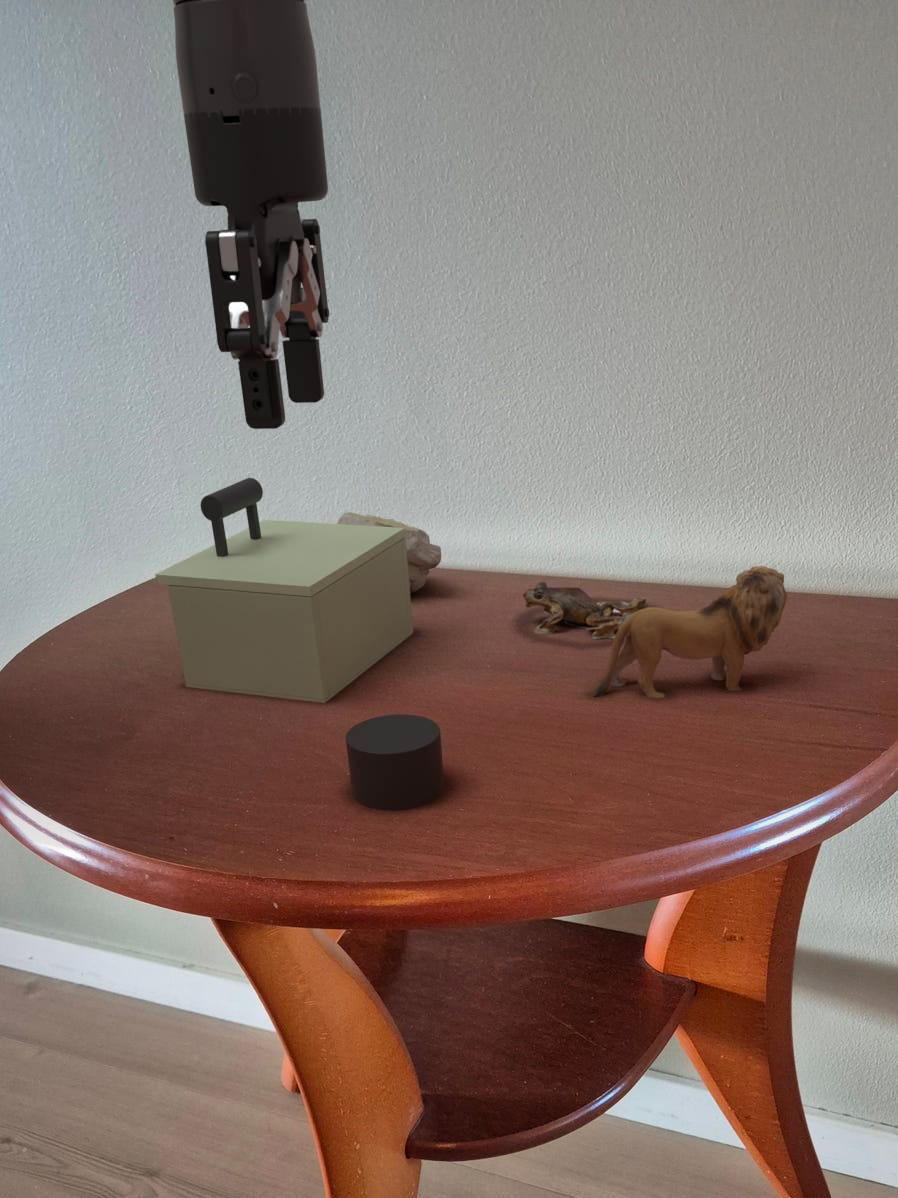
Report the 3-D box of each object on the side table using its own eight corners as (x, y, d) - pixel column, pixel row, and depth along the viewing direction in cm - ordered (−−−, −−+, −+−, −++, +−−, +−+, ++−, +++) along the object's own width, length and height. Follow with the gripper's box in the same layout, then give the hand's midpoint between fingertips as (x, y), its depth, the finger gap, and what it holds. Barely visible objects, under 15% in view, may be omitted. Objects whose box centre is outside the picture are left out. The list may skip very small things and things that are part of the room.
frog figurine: (509, 652, 99) (507, 608, 97) (529, 605, 109) (528, 565, 107) (647, 654, 97) (648, 609, 95) (655, 606, 107) (656, 565, 105)
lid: (157, 584, 90) (142, 510, 87) (266, 528, 103) (256, 463, 100) (311, 597, 86) (301, 519, 83) (405, 537, 98) (399, 468, 96)
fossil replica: (357, 574, 121) (309, 613, 113) (339, 494, 116) (288, 529, 109) (464, 573, 116) (421, 614, 108) (450, 489, 111) (404, 525, 104)
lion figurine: (764, 668, 93) (772, 554, 88) (792, 692, 88) (803, 574, 84) (583, 691, 91) (582, 576, 86) (603, 717, 86) (603, 597, 82)
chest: (187, 693, 94) (166, 585, 90) (288, 626, 107) (275, 529, 103) (325, 709, 90) (311, 597, 86) (414, 638, 103) (405, 537, 98)
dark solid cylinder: (336, 810, 76) (328, 747, 73) (378, 771, 80) (371, 709, 78) (421, 823, 73) (416, 758, 71) (459, 782, 78) (455, 719, 76)
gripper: (230, 113, 72) (265, 395, 80) (135, 104, 60) (188, 438, 68) (350, 106, 71) (373, 394, 79) (278, 95, 58) (314, 436, 66)
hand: (287, 414), depth 73 cm, fingers open, 8 cm apart
